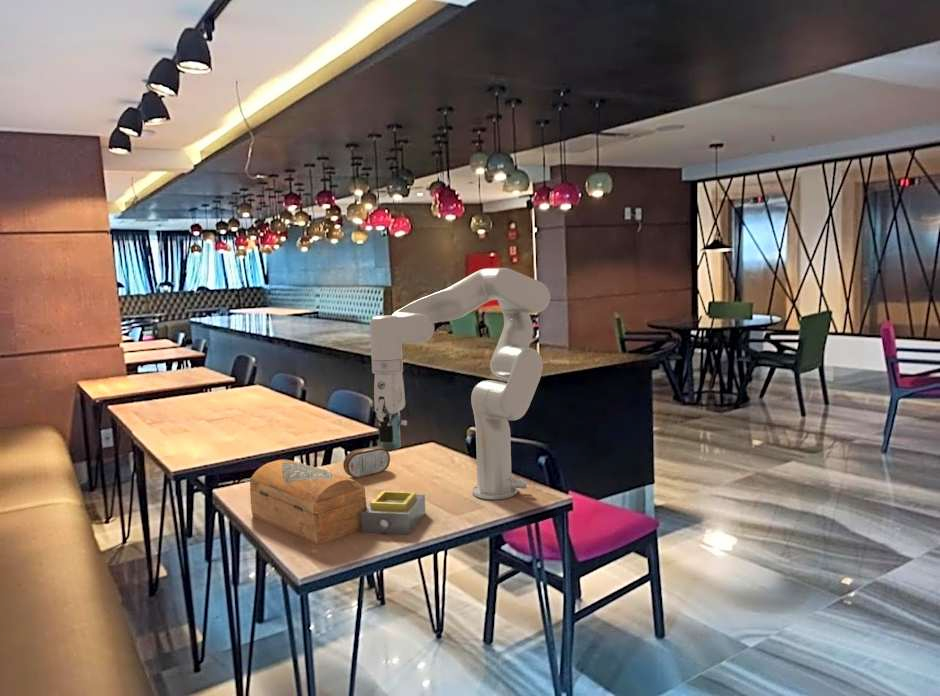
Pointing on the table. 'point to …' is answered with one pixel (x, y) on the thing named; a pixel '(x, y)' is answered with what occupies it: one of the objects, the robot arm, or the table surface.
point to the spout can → (394, 433)
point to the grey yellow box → (393, 513)
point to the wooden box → (306, 500)
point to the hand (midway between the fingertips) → (390, 438)
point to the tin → (366, 462)
